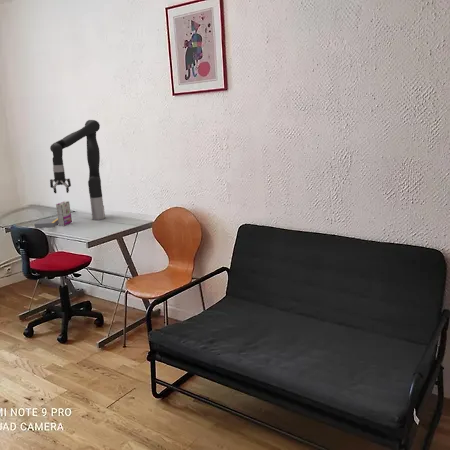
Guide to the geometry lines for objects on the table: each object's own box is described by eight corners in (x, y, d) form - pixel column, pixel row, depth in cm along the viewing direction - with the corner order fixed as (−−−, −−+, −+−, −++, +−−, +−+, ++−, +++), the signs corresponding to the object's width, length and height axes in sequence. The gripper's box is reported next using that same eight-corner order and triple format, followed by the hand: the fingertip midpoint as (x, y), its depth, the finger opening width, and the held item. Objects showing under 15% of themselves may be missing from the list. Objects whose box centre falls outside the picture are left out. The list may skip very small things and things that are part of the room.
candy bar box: (66, 222, 354) (63, 201, 350) (72, 222, 353) (69, 201, 349) (58, 225, 343) (55, 204, 339) (64, 225, 342) (61, 204, 338)
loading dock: (60, 222, 355) (59, 217, 354) (54, 227, 340) (53, 222, 339) (41, 223, 354) (41, 218, 354) (34, 228, 339) (34, 223, 338)
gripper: (70, 170, 342) (72, 191, 346) (50, 170, 342) (53, 192, 345) (67, 171, 335) (70, 193, 339) (47, 172, 334) (50, 194, 338)
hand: (61, 192), depth 342 cm, fingers open, 8 cm apart
